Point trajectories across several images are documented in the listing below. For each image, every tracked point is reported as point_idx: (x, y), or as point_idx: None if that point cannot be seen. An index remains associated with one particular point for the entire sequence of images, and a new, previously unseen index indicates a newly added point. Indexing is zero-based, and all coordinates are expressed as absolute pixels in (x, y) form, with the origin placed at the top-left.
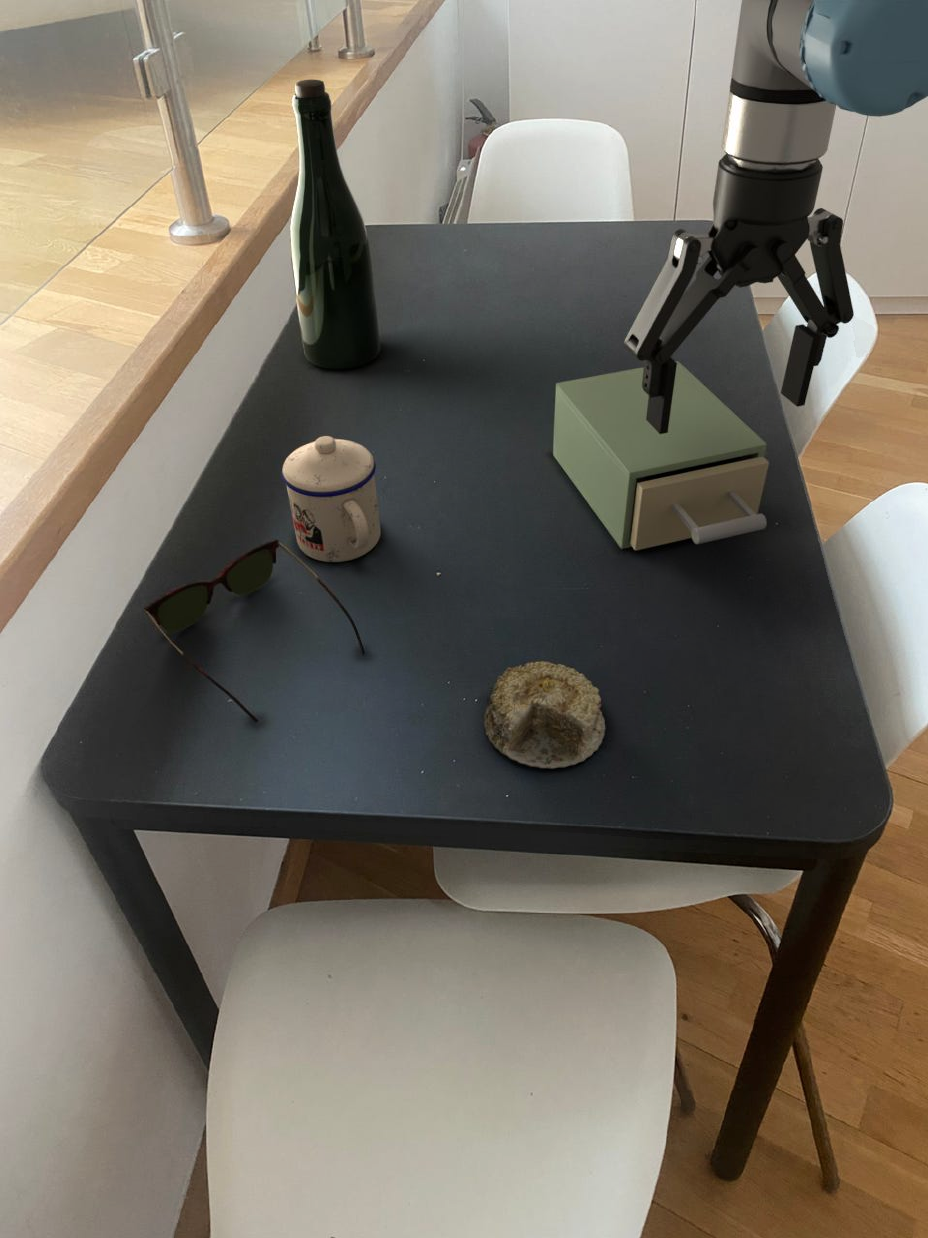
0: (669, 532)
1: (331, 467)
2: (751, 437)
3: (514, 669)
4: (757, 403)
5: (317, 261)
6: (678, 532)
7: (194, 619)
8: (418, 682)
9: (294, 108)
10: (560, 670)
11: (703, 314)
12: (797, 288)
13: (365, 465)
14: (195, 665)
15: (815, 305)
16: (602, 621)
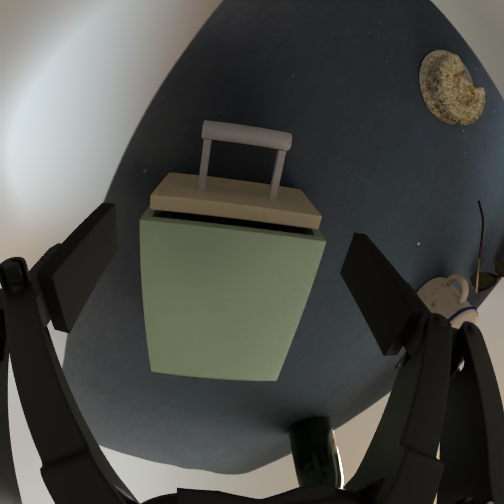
0: (268, 187)
1: None
2: (149, 239)
3: (465, 121)
4: (81, 316)
5: (338, 470)
6: (258, 185)
7: (496, 263)
8: (473, 164)
9: None
10: (451, 97)
11: (418, 398)
12: (69, 425)
13: (453, 325)
14: None
15: (23, 344)
16: (370, 135)
